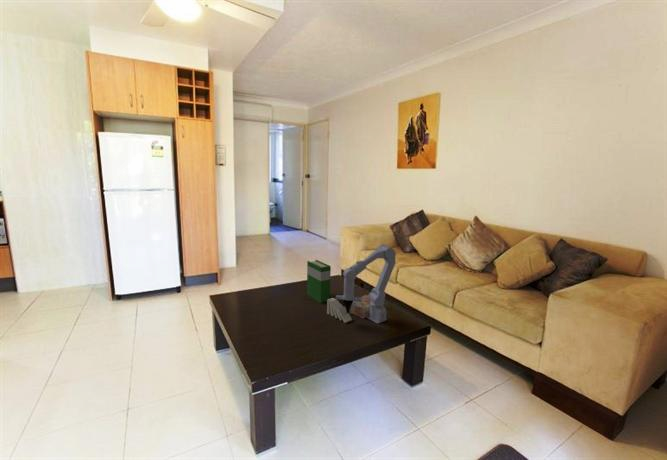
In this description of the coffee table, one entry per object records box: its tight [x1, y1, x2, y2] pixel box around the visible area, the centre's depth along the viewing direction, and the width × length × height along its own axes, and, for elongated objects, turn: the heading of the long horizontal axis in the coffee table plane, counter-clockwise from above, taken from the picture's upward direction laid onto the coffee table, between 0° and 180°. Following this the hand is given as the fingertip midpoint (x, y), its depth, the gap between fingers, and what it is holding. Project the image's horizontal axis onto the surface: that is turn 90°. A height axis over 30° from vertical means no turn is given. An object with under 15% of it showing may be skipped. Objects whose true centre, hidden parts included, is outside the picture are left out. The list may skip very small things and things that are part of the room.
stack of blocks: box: [349, 293, 370, 319], centre depth 198 cm, size 21×6×12 cm
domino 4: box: [334, 303, 343, 322], centre depth 185 cm, size 2×5×9 cm
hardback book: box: [306, 259, 332, 304], centre depth 214 cm, size 18×7×24 cm, turn 35°
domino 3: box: [331, 300, 341, 319], centre depth 188 cm, size 2×5×9 cm, turn 131°
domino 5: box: [337, 305, 353, 324], centre depth 183 cm, size 2×5×9 cm
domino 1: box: [326, 297, 336, 315], centre depth 192 cm, size 2×5×9 cm, turn 131°
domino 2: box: [329, 298, 338, 317], centre depth 190 cm, size 2×5×9 cm, turn 131°
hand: (348, 312), depth 181 cm, fingers closed
